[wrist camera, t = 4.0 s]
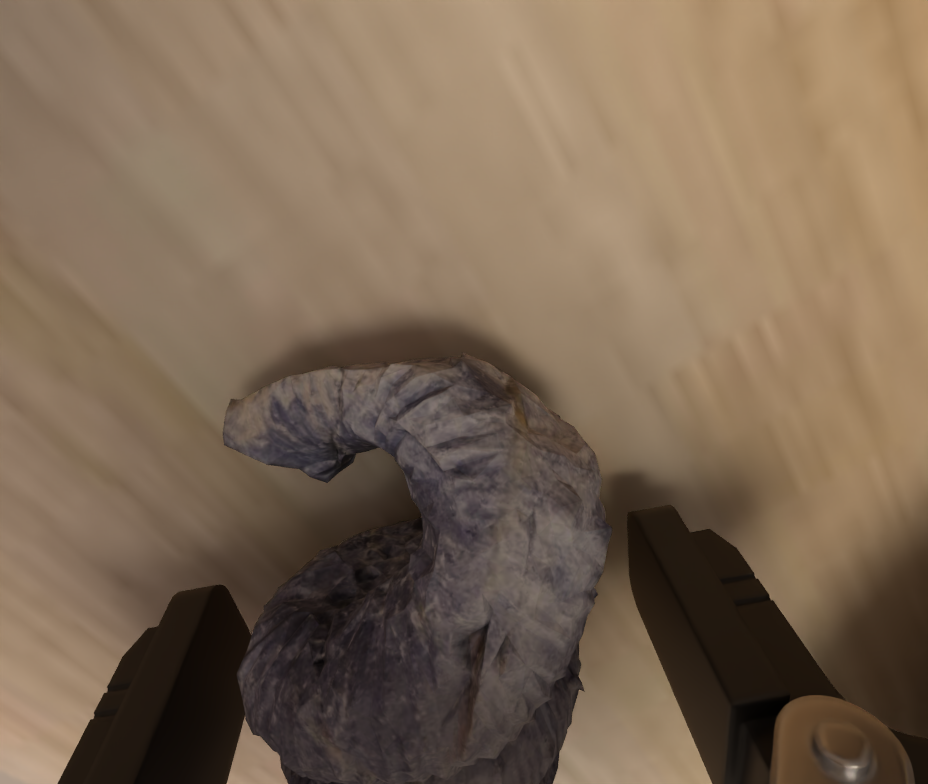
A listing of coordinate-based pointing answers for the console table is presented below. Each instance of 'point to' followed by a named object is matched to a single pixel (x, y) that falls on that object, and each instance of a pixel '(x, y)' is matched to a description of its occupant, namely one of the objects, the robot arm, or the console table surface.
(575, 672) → the seashell
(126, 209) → the console table surface
